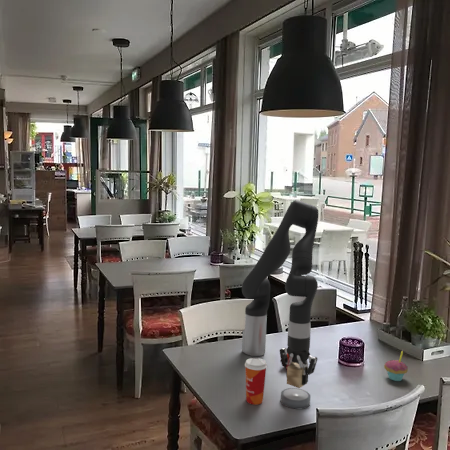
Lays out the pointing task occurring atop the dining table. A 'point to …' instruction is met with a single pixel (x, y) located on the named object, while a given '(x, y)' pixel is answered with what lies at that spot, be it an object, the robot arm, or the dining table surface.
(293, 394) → the pedestal
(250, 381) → the paper cup
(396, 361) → the cupcake
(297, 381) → the oak block
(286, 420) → the dining table surface
